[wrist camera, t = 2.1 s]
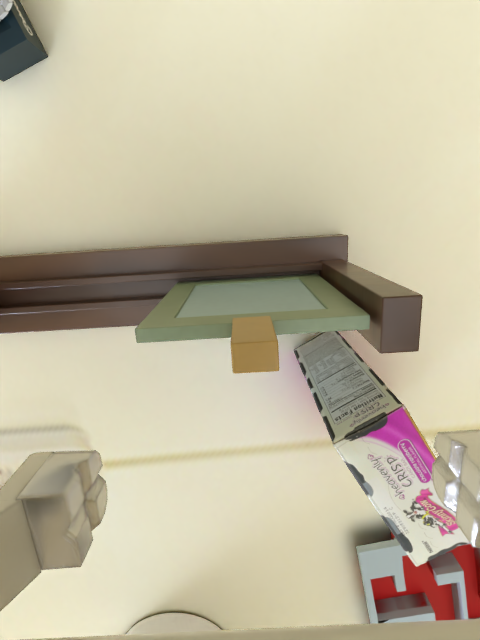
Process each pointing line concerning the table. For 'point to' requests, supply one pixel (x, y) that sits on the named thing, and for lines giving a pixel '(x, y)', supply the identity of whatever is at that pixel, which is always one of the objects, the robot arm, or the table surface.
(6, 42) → the watch
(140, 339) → the window pane
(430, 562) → the maze game
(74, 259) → the window frame
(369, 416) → the candy bar box
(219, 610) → the table surface
